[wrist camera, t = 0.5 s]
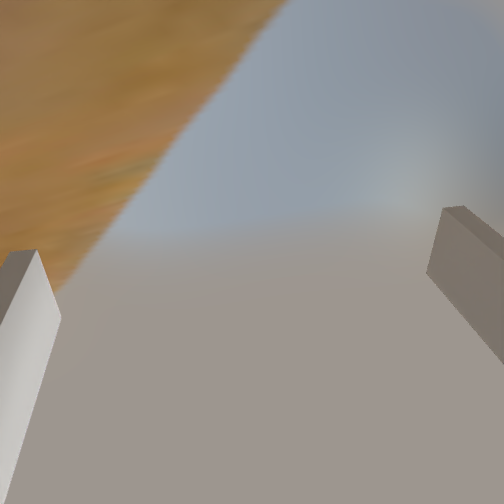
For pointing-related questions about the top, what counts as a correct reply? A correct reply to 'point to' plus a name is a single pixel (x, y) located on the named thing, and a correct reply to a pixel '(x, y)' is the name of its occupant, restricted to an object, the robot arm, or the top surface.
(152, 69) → the top surface
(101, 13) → the top surface
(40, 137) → the top surface
